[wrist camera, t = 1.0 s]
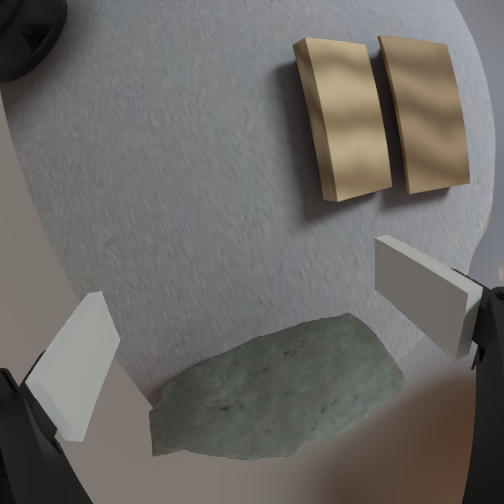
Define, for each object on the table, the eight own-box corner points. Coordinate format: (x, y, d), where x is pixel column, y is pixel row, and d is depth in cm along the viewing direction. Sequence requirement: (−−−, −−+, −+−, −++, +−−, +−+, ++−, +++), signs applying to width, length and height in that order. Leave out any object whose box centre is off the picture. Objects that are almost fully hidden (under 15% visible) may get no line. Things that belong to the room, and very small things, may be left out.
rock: (176, 387, 42) (167, 502, 23) (154, 356, 40) (130, 475, 21) (346, 317, 41) (421, 412, 22) (335, 280, 40) (419, 371, 21)
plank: (287, 52, 30) (298, 38, 26) (357, 50, 31) (375, 38, 26) (316, 196, 36) (331, 202, 31) (382, 184, 36) (403, 189, 32)
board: (366, 44, 31) (380, 35, 27) (431, 50, 31) (446, 44, 28) (394, 190, 37) (409, 194, 33) (453, 180, 38) (470, 183, 34)
